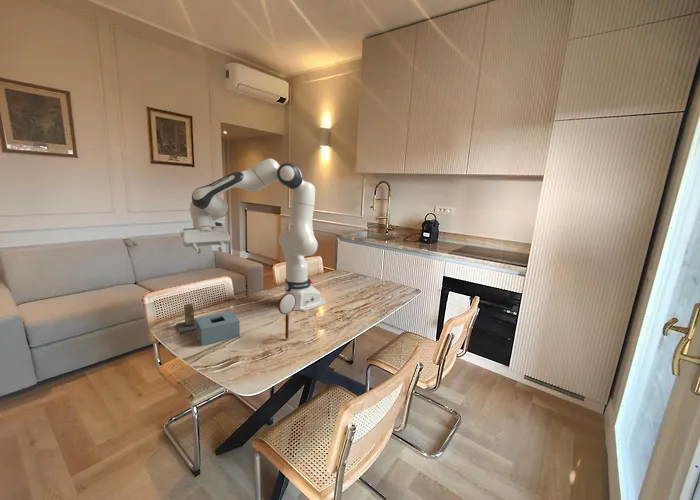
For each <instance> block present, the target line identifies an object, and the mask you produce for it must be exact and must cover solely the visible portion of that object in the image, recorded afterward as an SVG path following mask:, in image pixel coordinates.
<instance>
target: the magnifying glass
mask: <svg viewBox="0 0 700 500" xmlns="http://www.w3.org/2000/svg"><path fill="white" fill-rule="evenodd" d="M295 304H296V298H295V296H294V295H293V294H292V293H287V294H283V295H282V296H281V297H280V299H279V300H278V304H277V308H278V311H279V313H281V315H285V333H284V334H285V340H286V341H287V340H289V331H290V330H289V329H290V328H289V324H290V322H289V321H290V320H289V319H290V317H289V316H290V315H289V314H290V313H291V312H292V311H294V310H293V309H294V307H295Z"/></svg>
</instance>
